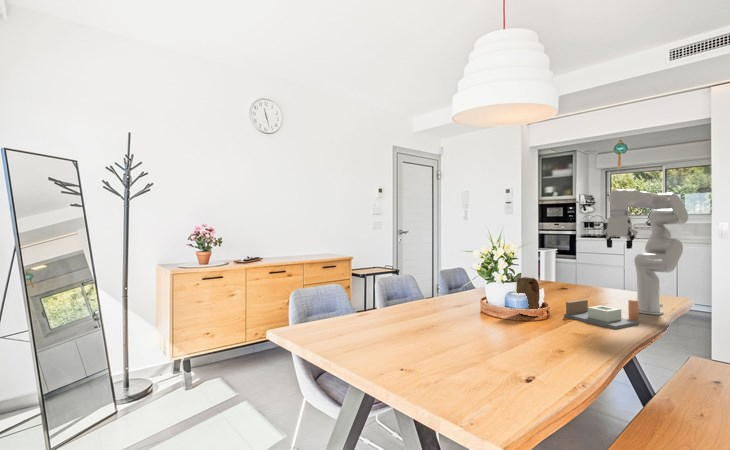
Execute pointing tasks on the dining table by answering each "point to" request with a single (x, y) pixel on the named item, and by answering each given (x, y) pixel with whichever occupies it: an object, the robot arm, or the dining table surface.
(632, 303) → the orange rectangular post
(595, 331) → the dining table surface
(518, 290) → the block
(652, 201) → the robot arm
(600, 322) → the stop board
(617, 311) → the socket block
